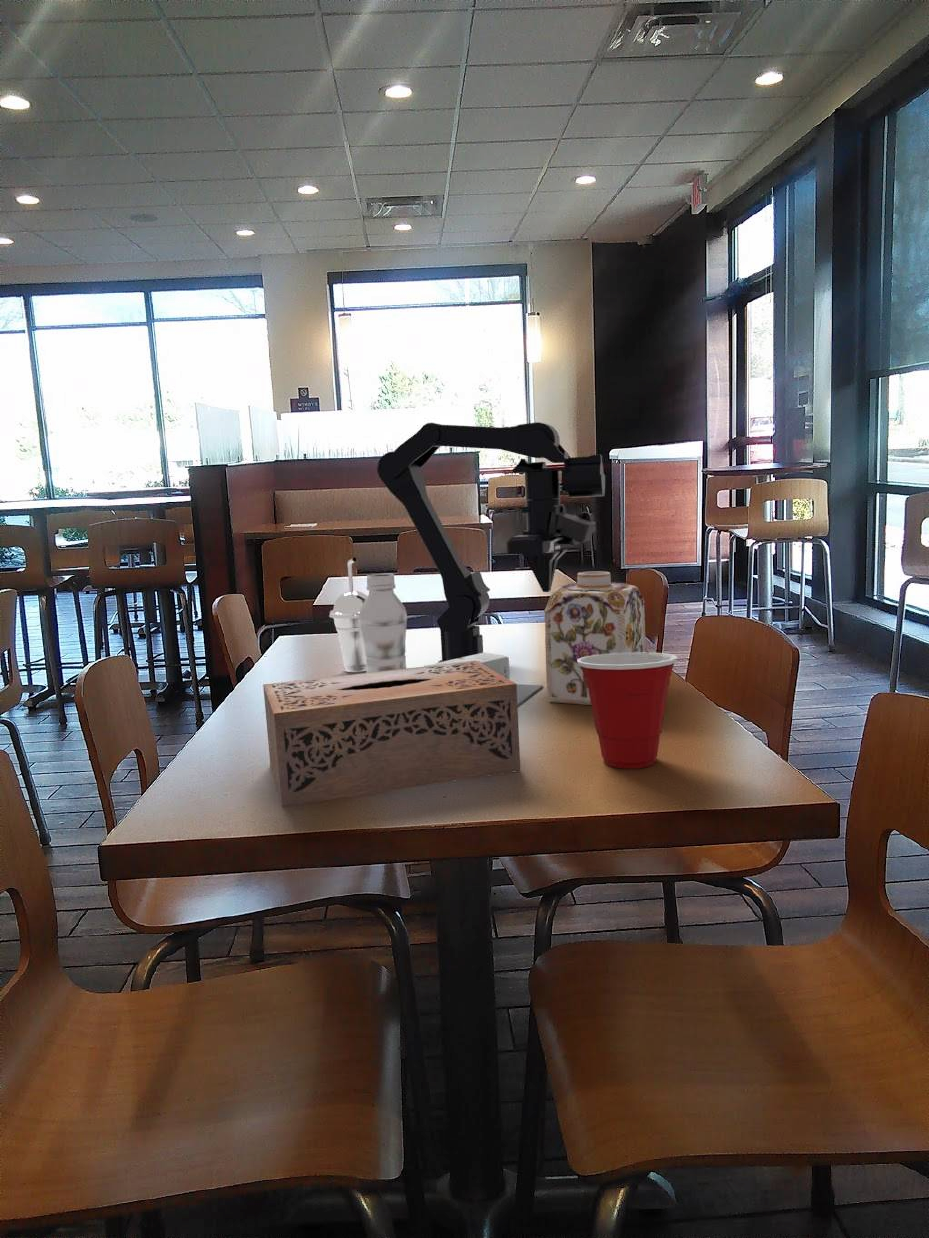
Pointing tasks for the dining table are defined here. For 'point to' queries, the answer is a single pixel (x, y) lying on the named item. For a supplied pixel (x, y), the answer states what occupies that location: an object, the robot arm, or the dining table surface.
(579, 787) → the dining table surface
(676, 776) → the dining table surface
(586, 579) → the decorative jar
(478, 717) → the tissue box cover
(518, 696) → the mat
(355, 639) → the cup with straw
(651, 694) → the plastic cup
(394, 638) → the plastic bottle
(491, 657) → the skincare box
